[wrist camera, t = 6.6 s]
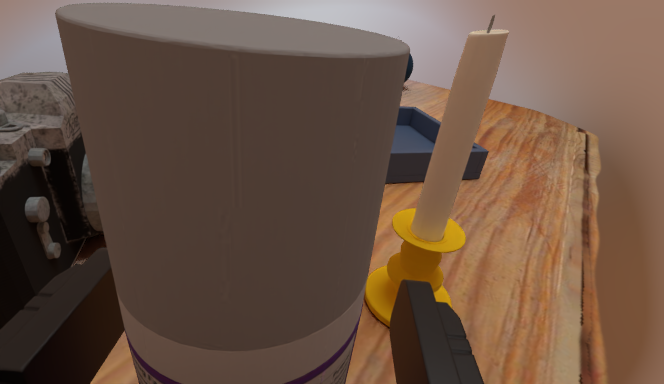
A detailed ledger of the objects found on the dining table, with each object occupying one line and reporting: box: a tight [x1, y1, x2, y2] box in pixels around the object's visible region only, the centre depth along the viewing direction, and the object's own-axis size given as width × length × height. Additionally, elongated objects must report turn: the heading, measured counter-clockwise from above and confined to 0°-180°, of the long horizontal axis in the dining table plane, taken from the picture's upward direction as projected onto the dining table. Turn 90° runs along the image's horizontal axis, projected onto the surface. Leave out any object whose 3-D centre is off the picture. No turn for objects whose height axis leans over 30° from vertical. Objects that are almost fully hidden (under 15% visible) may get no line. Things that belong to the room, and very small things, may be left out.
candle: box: [364, 15, 509, 327], centre depth 17 cm, size 5×5×16 cm
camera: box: [0, 72, 104, 329], centre depth 20 cm, size 15×7×10 cm, turn 16°
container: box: [55, 3, 410, 384], centre depth 9 cm, size 5×5×15 cm
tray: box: [385, 106, 489, 183], centre depth 41 cm, size 18×16×3 cm
